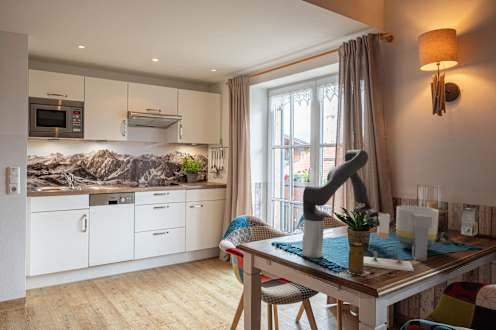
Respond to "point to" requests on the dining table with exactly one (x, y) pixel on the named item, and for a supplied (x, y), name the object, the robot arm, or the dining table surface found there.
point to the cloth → (446, 240)
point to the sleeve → (383, 225)
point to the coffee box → (469, 221)
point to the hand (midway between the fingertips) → (385, 224)
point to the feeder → (420, 235)
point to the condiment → (356, 258)
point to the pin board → (388, 263)
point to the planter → (406, 227)
